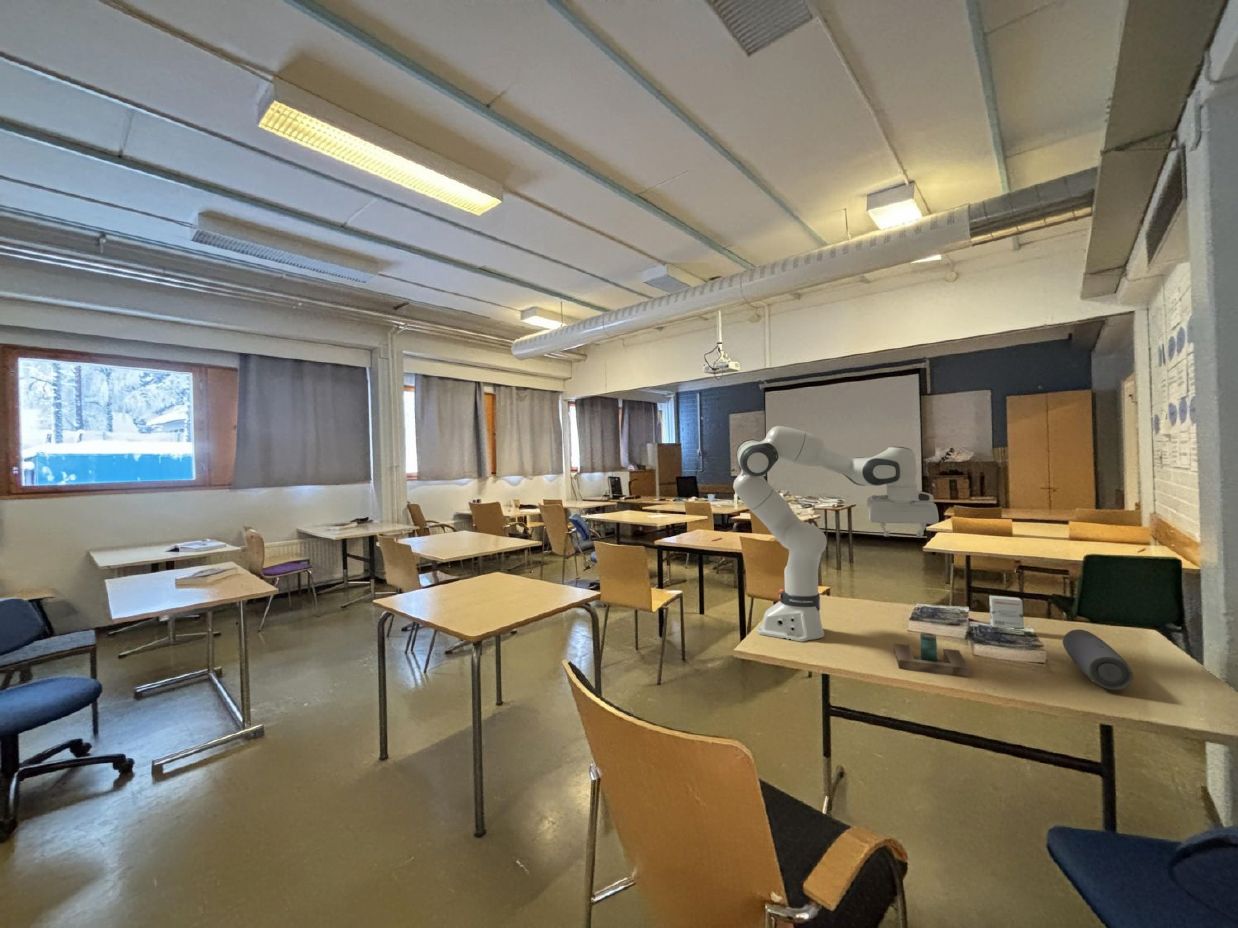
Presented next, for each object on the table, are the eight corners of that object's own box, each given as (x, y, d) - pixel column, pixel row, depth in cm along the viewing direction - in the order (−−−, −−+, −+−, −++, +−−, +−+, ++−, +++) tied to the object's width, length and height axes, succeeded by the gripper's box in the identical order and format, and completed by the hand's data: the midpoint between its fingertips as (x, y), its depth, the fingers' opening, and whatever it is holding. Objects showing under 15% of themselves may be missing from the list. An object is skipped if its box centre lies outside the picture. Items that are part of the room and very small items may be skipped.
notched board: (899, 668, 142) (898, 659, 142) (894, 651, 155) (894, 643, 155) (970, 677, 135) (970, 668, 135) (959, 658, 148) (958, 650, 148)
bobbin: (918, 664, 144) (917, 637, 144) (916, 657, 150) (915, 630, 150) (942, 667, 142) (941, 639, 142) (939, 660, 147) (938, 633, 147)
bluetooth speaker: (1137, 698, 121) (1136, 657, 121) (1086, 690, 126) (1085, 651, 126) (1103, 664, 141) (1102, 629, 141) (1060, 659, 146) (1060, 625, 146)
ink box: (1021, 631, 169) (1020, 597, 169) (1024, 636, 165) (1023, 600, 165) (989, 628, 173) (988, 594, 173) (992, 632, 169) (991, 598, 169)
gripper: (867, 495, 166) (868, 537, 166) (939, 495, 158) (940, 539, 158) (866, 494, 172) (867, 534, 172) (935, 494, 164) (936, 536, 163)
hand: (903, 536), depth 165 cm, fingers open, 8 cm apart
